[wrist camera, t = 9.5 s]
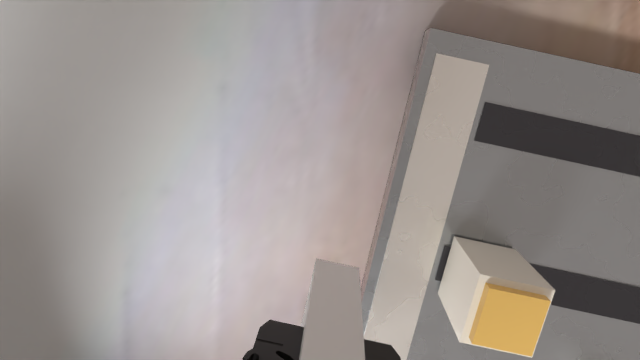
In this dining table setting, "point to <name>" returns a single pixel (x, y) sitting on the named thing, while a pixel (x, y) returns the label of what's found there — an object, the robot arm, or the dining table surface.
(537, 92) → the panel
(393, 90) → the dining table surface
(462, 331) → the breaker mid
